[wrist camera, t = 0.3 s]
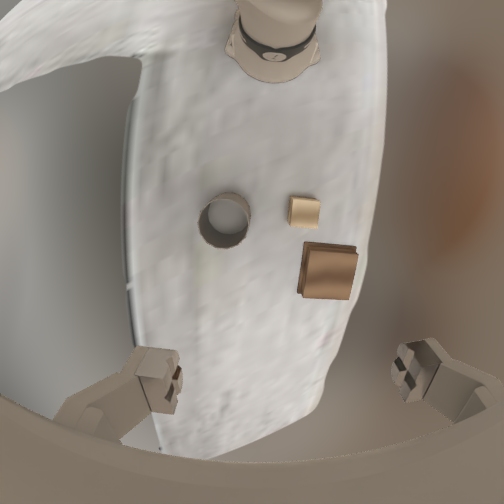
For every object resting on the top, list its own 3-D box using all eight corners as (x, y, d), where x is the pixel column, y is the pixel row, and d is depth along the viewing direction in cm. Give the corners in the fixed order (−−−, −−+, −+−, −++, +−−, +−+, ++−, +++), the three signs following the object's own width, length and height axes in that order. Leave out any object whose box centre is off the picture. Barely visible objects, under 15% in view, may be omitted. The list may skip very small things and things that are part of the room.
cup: (253, 231, 54) (252, 245, 45) (212, 237, 55) (203, 252, 45) (246, 189, 52) (244, 194, 42) (204, 196, 52) (193, 202, 43)
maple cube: (289, 195, 52) (293, 198, 48) (314, 198, 52) (320, 201, 48) (287, 220, 54) (290, 226, 49) (311, 223, 54) (317, 228, 49)
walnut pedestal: (304, 241, 55) (307, 247, 51) (355, 246, 55) (361, 252, 51) (297, 291, 58) (299, 300, 55) (345, 294, 58) (350, 302, 55)
